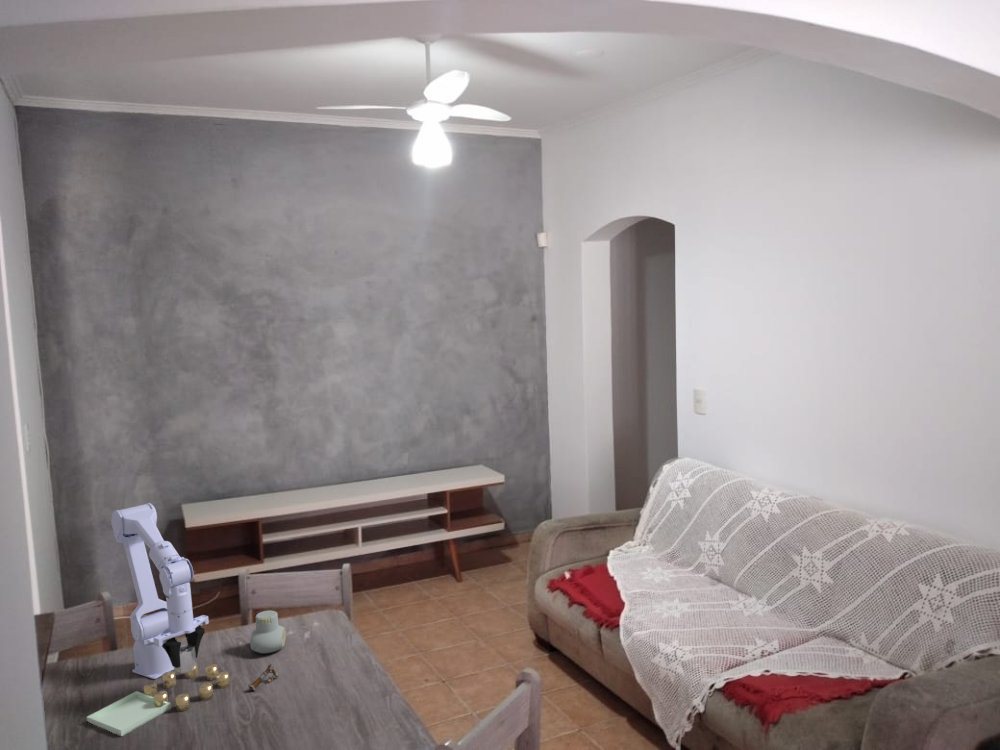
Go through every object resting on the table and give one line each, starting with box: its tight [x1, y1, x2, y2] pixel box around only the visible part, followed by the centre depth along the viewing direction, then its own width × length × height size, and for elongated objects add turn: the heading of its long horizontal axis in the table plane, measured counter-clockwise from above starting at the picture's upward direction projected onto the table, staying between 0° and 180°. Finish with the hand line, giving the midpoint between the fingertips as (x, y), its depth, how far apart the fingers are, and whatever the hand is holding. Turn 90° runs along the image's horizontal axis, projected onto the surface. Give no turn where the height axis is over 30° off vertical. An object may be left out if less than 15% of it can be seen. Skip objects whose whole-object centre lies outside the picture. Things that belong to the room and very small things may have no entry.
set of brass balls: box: [143, 661, 231, 713], centre depth 198 cm, size 17×18×3 cm
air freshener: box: [249, 610, 287, 654], centre depth 220 cm, size 11×8×10 cm
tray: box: [86, 690, 172, 737], centre depth 188 cm, size 13×13×2 cm
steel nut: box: [173, 643, 198, 674], centre depth 197 cm, size 5×4×5 cm
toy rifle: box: [247, 662, 279, 692], centre depth 200 cm, size 2×8×4 cm, turn 143°
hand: (184, 662), depth 198 cm, fingers closed on steel nut, 4 cm apart
